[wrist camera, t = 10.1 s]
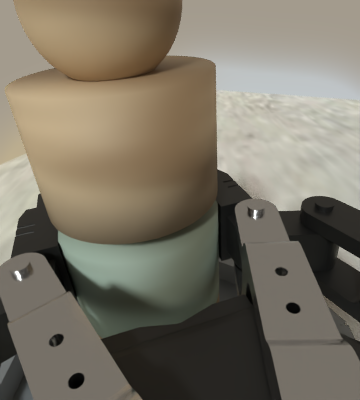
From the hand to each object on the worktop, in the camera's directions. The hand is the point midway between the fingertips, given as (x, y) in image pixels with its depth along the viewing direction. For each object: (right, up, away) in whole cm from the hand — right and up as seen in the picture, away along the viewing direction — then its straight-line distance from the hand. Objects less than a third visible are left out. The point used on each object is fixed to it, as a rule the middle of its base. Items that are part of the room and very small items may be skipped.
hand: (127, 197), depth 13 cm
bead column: (+1, -8, +2) cm, 8 cm away
